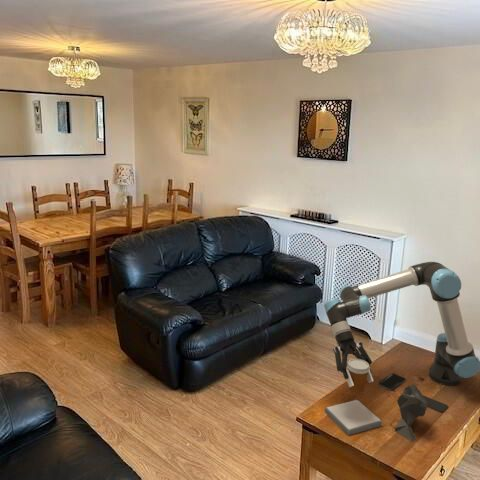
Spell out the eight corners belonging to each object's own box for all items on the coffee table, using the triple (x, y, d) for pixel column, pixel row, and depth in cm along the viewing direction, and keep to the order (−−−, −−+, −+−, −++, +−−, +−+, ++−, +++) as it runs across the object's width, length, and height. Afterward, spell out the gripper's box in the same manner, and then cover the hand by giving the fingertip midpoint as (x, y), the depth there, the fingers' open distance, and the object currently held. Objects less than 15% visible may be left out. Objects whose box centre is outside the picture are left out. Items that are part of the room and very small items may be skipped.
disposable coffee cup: (368, 397, 195) (371, 371, 192) (344, 394, 197) (347, 368, 194) (366, 384, 204) (369, 359, 201) (344, 381, 206) (346, 357, 203)
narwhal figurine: (434, 428, 197) (439, 390, 193) (412, 442, 188) (417, 402, 184) (404, 411, 208) (409, 374, 204) (382, 423, 199) (387, 385, 195)
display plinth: (356, 403, 213) (357, 398, 212) (381, 425, 198) (382, 420, 197) (324, 412, 206) (325, 407, 206) (348, 435, 191) (348, 430, 191)
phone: (416, 392, 223) (448, 405, 212) (416, 393, 223) (448, 407, 213) (409, 398, 217) (442, 412, 207) (409, 400, 218) (442, 414, 208)
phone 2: (377, 383, 229) (392, 372, 239) (376, 385, 229) (392, 374, 239) (392, 390, 223) (407, 378, 233) (391, 392, 224) (406, 380, 234)
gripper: (359, 332, 214) (378, 381, 204) (317, 340, 206) (335, 391, 195) (367, 326, 208) (387, 377, 198) (325, 333, 200) (343, 386, 189)
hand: (361, 384), depth 197 cm, fingers closed on disposable coffee cup, 9 cm apart
